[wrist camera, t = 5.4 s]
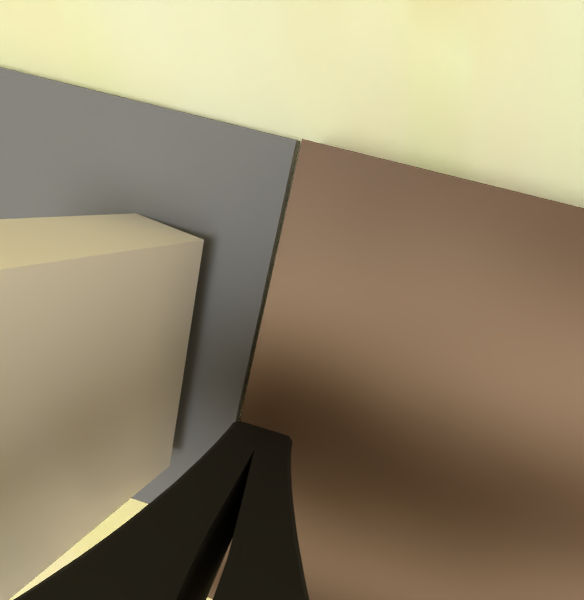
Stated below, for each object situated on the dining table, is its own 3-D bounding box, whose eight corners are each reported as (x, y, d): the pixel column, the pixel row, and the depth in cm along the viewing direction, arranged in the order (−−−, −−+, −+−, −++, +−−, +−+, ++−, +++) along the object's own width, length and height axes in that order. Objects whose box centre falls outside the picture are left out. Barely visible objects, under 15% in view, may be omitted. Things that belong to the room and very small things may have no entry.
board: (481, 598, 14) (510, 702, 12) (230, 515, 15) (200, 594, 12) (711, 242, 9) (858, 276, 7) (318, 145, 10) (302, 138, 7)
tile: (-43, 642, 8) (-104, 568, 9) (169, 465, 13) (117, 430, 14) (-98, 283, 5) (-180, 226, 6) (204, 239, 10) (136, 213, 11)
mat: (218, 511, 15) (213, 525, 15) (-51, 423, 16) (-65, 432, 16) (299, 141, 10) (296, 140, 10) (-98, 43, 11) (-122, 37, 11)
